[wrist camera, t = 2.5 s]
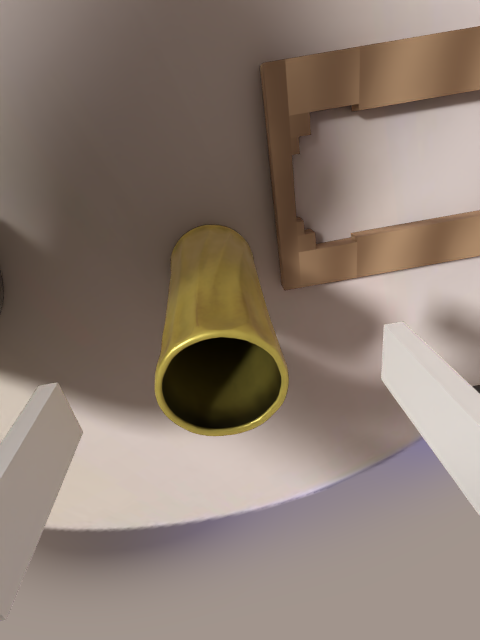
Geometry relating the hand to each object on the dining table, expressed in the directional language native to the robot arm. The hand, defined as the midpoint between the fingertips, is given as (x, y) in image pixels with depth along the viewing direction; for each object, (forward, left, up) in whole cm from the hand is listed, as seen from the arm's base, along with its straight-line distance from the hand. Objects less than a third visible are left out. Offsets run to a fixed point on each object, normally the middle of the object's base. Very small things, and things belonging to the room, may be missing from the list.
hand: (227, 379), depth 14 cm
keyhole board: (+14, +5, -14) cm, 20 cm away
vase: (0, 0, -14) cm, 14 cm away
